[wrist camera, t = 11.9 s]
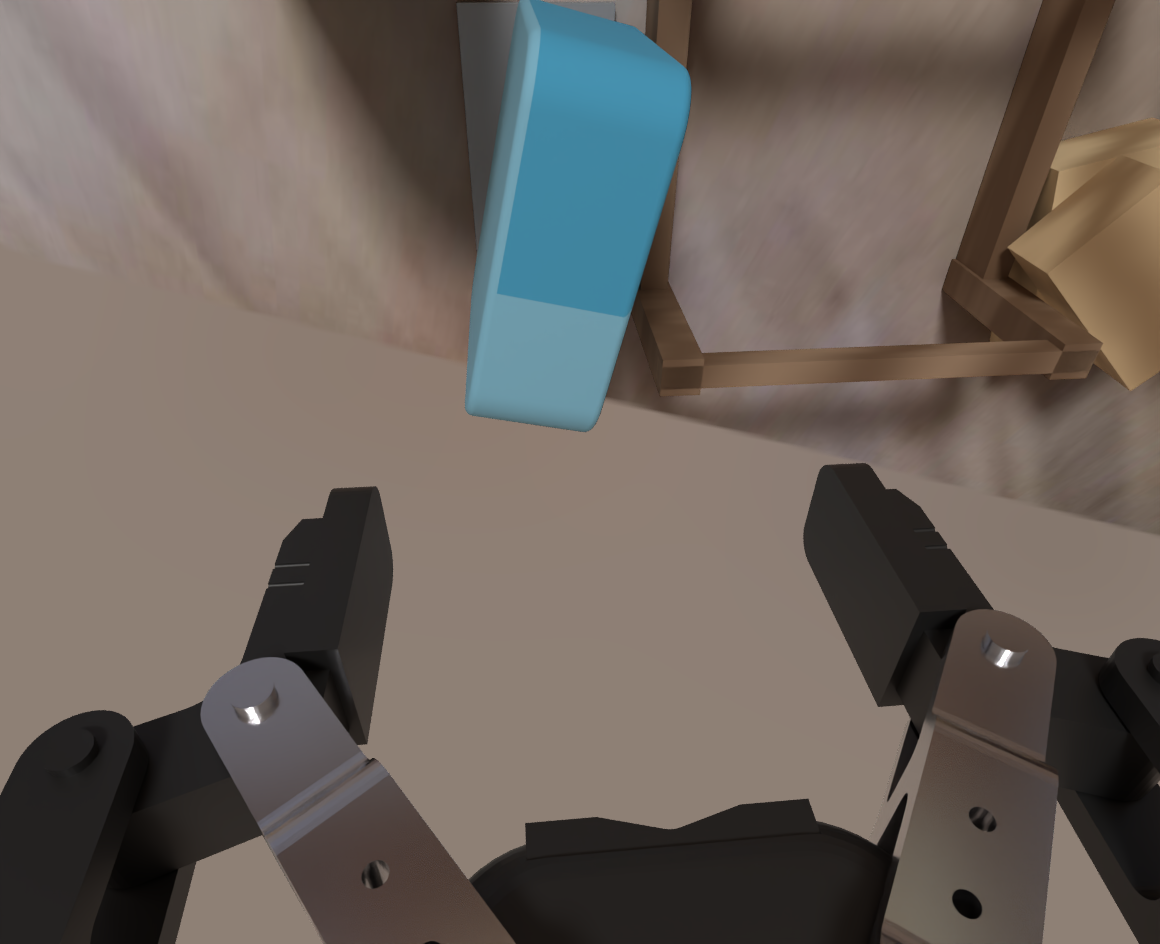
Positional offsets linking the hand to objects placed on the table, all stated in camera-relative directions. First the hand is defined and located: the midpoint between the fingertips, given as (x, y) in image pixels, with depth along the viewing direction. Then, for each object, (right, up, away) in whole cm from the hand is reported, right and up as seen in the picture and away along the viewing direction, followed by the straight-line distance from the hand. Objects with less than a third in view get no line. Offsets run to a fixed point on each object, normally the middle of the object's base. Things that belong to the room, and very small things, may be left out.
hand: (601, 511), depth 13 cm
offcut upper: (+24, +10, +20) cm, 33 cm away
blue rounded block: (-2, +14, +18) cm, 23 cm away
